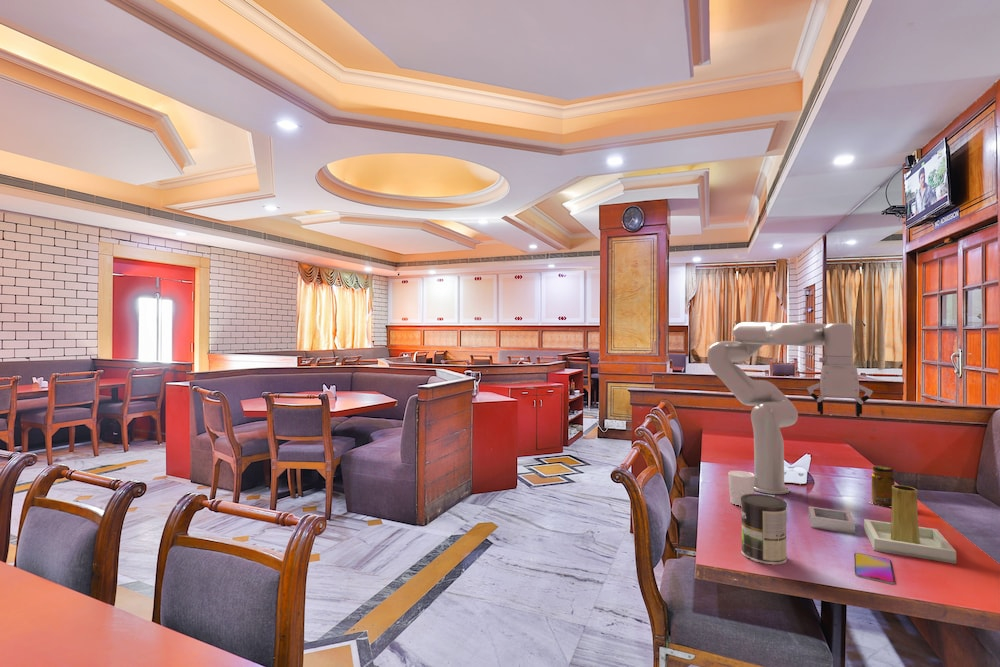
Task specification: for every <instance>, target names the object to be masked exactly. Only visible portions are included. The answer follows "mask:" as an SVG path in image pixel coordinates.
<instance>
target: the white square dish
mask: <svg viewBox="0 0 1000 667" xmlns="http://www.w3.org/2000/svg"><path fill="white" fill-rule="evenodd" d="M808 519H809V523H810V526H811V528H813V529H819V530H827V531H833V532H840V533H844V534H846V533H847V534H853V535H855V534H856V523H855V521H854V518H853V516H852V513H851V512H850V511H847V510H846V511H845V510H840V509H839V510H838V509H831V508H825V507H823V508H822V507H816V506H808Z"/></svg>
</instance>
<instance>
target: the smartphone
mask: <svg viewBox="0 0 1000 667" xmlns="http://www.w3.org/2000/svg"><path fill="white" fill-rule="evenodd" d="M853 557H854V575H855V576H856V577H858V578H862V579H866V580H871V581H874V582H879V583H883V584H889V585H895V584H896V581H895V575H894V570H893V565H892V561H891V559H888V558H886V557H885V558H884V557H880V556H876V555H875V556H874V555H871V554H865V553H859V552H854V555H853Z"/></svg>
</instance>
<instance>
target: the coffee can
mask: <svg viewBox="0 0 1000 667" xmlns="http://www.w3.org/2000/svg"><path fill="white" fill-rule="evenodd" d="M787 507H788V503H787V501H785V500H783V499H782V498H780V497H777V496H773V495H770V494H769V495H767V494H764V493H763V494H762V493H754V494H746V495H743V496H741V551H740V552H741V554H742V555H743V557H745V556H746V557H747V558H746V557H745V558H746V559H748V558H750V559H751V560H750V559H749V560H750V561H752V560H754V561H753V562H755V561H757V562H756V563H758V562H760V563H759V564H762V563H764V565H769V564H772V565H773V566H774V565H775V566H777V565H778V564H779V565H783V563H784V564H786V562H787V561H788V558H787V556H788V555H787ZM772 565H771V566H772ZM779 565H778V566H779Z"/></svg>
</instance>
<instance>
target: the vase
mask: <svg viewBox="0 0 1000 667" xmlns="http://www.w3.org/2000/svg"><path fill="white" fill-rule="evenodd" d="M918 509H919V508H918V489H917V488H915V487H913V486H908V485H902V484H901V485H900V484H895V485H893V486H892V508H891V522H890V523H891V540H895V541H901V542H908V543H915V544H920V537H919V527H920V526H919V517H918V514H919V513H918Z"/></svg>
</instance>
